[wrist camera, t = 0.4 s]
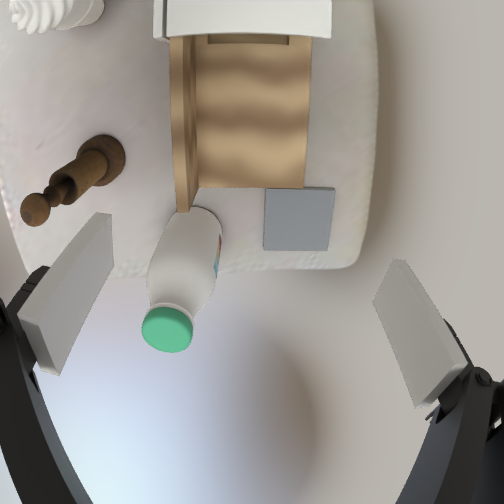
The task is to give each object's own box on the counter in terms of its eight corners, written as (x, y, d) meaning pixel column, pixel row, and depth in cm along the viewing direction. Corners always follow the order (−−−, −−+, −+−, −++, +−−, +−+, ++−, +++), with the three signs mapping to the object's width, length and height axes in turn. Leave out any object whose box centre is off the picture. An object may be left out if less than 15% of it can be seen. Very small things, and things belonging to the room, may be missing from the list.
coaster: (265, 186, 40) (266, 188, 39) (333, 188, 40) (335, 191, 39) (263, 246, 45) (263, 250, 44) (325, 247, 45) (327, 250, 44)
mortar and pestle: (114, 189, 40) (48, 261, 24) (77, 168, 38) (-2, 229, 22) (133, 147, 37) (63, 201, 21) (93, 126, 35) (8, 168, 20)
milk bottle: (156, 224, 43) (107, 326, 26) (199, 194, 41) (166, 289, 23) (191, 263, 46) (165, 373, 29) (233, 236, 44) (227, 347, 27)
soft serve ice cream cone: (81, -22, 23) (9, -48, 10) (131, -11, 26) (68, -48, 12) (54, 32, 27) (-26, 29, 14) (101, 45, 29) (25, 40, 16)
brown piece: (190, -28, 25) (173, -55, 17) (309, -26, 25) (327, -53, 17) (191, 182, 40) (177, 212, 32) (300, 183, 40) (315, 213, 32)
